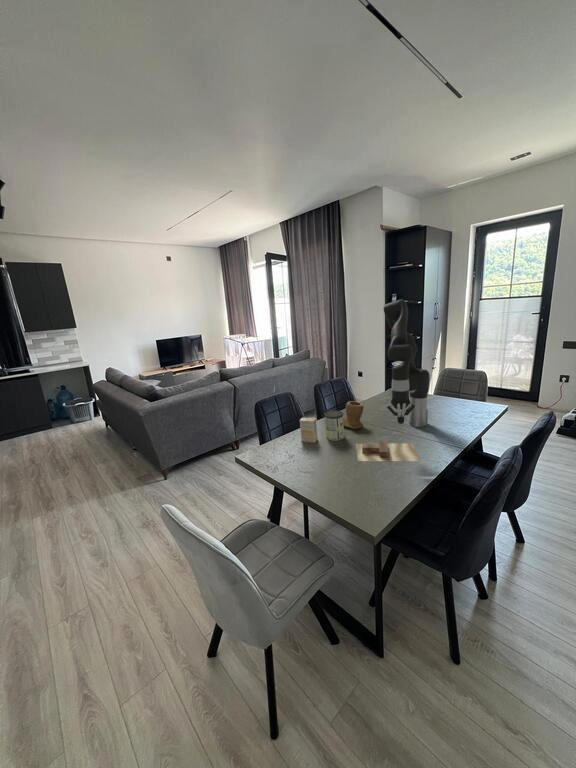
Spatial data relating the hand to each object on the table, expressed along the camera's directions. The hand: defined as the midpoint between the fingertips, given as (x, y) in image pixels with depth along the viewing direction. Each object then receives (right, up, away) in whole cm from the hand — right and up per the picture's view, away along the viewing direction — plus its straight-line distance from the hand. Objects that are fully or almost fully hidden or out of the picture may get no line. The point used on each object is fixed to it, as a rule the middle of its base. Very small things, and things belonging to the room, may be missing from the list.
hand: (400, 423), depth 144 cm
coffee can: (-27, -12, +29) cm, 41 cm away
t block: (-10, -15, +7) cm, 19 cm away
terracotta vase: (-14, -7, +42) cm, 45 cm away
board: (-5, -16, +5) cm, 17 cm away
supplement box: (-41, -13, +27) cm, 51 cm away
